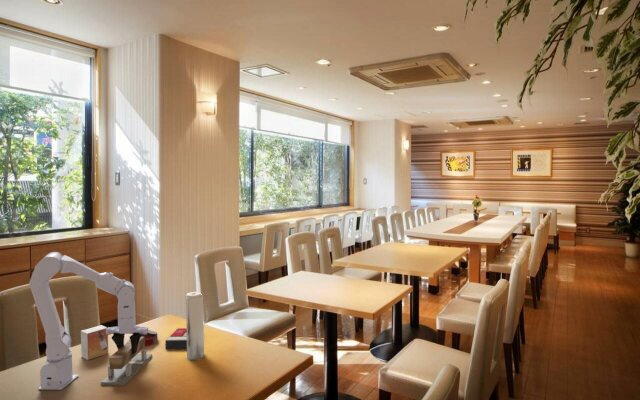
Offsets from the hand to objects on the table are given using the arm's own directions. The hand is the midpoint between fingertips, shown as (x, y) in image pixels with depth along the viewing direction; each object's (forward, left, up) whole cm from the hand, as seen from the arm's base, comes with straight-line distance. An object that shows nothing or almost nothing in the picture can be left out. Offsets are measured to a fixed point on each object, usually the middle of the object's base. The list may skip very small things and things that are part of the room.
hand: (127, 353), depth 149 cm
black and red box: (+26, -11, -7) cm, 29 cm away
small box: (+12, +19, -6) cm, 23 cm away
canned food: (+25, +5, -7) cm, 26 cm away
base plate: (0, 0, -6) cm, 6 cm away
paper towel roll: (+11, -21, -6) cm, 25 cm away
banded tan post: (0, 0, -2) cm, 2 cm away
